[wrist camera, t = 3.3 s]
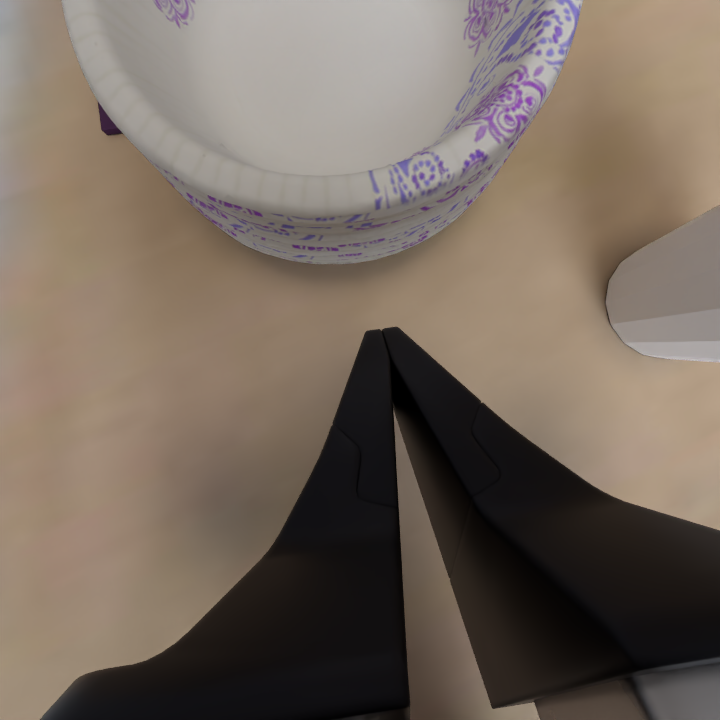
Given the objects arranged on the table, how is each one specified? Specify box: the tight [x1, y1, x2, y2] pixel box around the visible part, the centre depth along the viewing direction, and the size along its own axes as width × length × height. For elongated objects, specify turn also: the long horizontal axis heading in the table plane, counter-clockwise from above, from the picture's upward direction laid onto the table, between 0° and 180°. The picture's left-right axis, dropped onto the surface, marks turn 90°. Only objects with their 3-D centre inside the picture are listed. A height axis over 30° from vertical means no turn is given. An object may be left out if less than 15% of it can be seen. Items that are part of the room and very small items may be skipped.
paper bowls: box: [61, 0, 583, 264], centre depth 14 cm, size 15×15×8 cm
